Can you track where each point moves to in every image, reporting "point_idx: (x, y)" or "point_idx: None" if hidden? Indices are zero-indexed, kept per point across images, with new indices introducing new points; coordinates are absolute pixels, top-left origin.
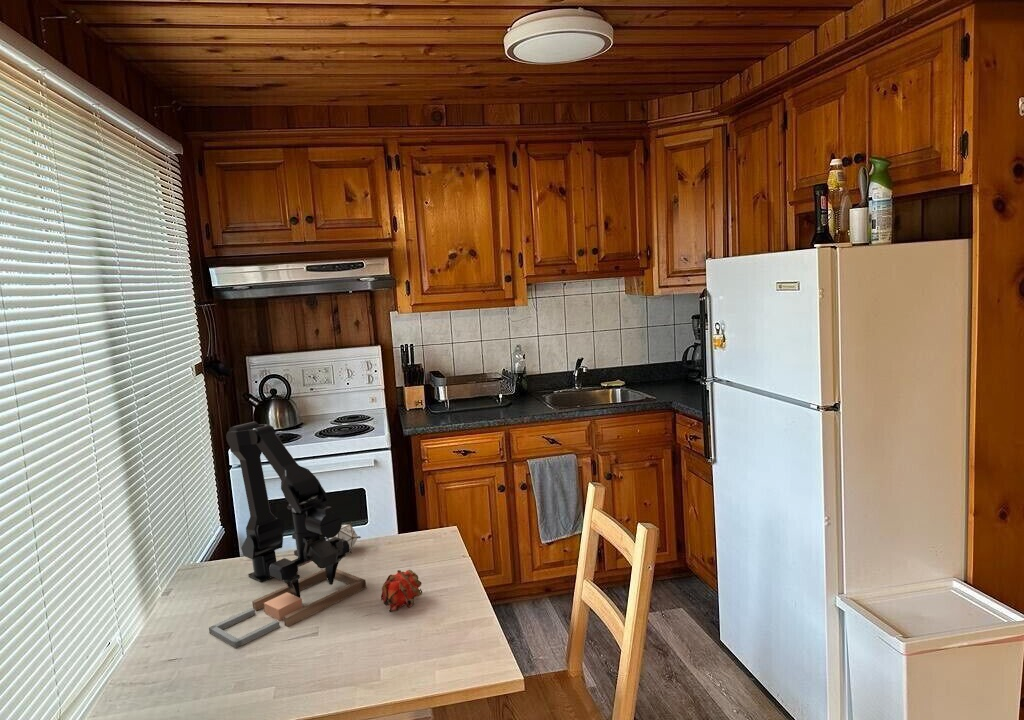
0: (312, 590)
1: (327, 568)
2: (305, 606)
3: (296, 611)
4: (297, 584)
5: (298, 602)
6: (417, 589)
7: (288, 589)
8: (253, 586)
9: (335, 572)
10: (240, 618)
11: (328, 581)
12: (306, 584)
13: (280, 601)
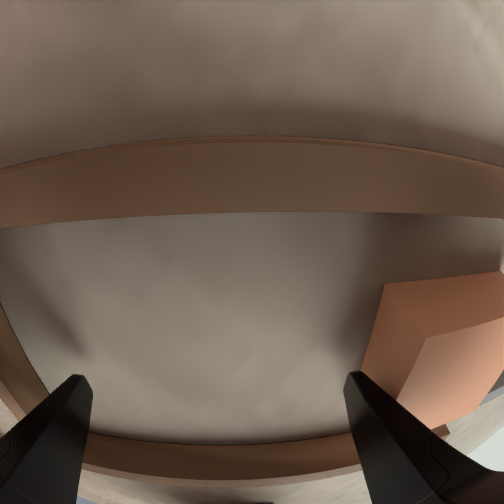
0: (187, 417)
1: (62, 484)
2: (480, 208)
3: None
4: (432, 466)
5: (442, 319)
6: None
7: (296, 466)
8: (301, 498)
9: (18, 424)
10: (499, 379)
11: (89, 408)
12: (191, 457)
13: (468, 384)
